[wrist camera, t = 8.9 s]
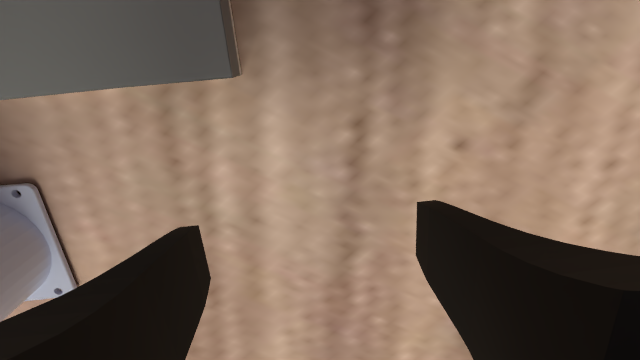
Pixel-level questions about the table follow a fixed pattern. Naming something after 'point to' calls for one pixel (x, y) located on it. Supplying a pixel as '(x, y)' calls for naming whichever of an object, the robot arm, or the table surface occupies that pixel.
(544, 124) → the table surface
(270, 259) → the table surface
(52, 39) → the grill press
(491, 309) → the robot arm
